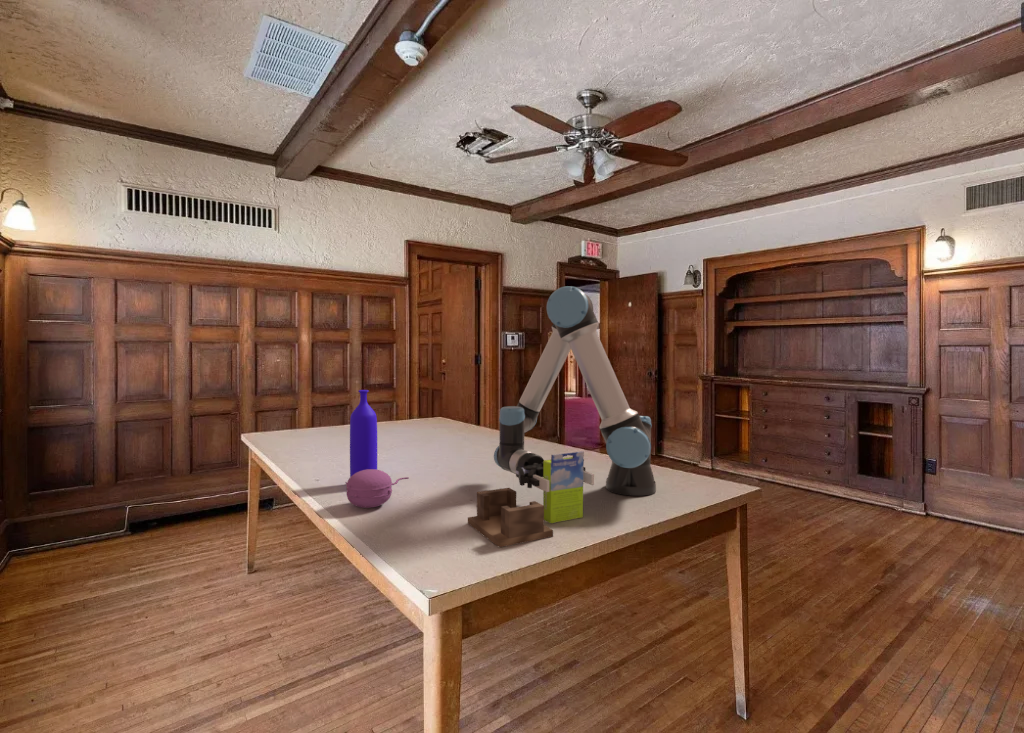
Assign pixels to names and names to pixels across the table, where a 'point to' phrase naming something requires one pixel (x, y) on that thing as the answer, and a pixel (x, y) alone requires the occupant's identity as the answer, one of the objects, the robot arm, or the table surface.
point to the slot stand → (508, 518)
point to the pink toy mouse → (369, 488)
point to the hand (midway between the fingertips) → (571, 482)
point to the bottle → (363, 436)
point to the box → (563, 487)
